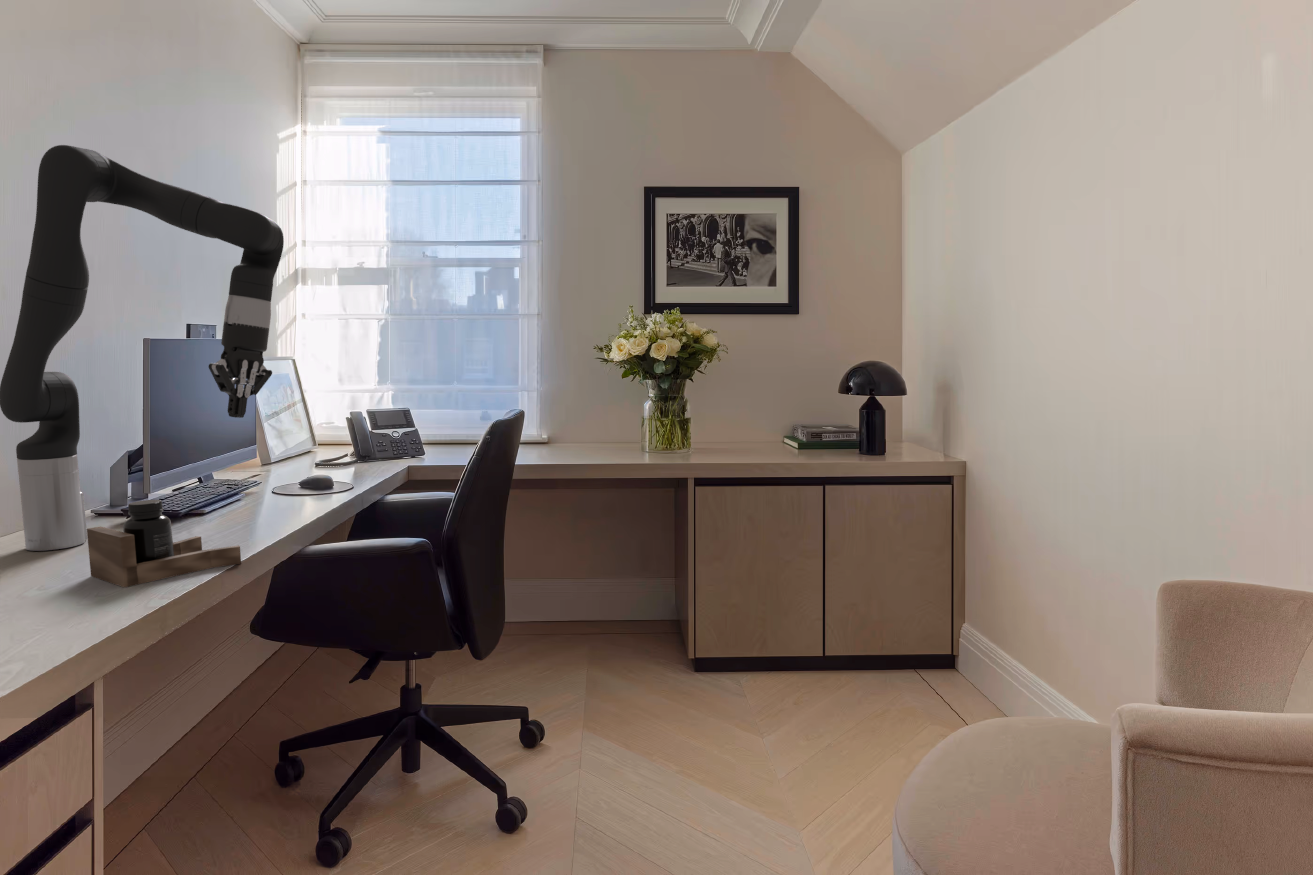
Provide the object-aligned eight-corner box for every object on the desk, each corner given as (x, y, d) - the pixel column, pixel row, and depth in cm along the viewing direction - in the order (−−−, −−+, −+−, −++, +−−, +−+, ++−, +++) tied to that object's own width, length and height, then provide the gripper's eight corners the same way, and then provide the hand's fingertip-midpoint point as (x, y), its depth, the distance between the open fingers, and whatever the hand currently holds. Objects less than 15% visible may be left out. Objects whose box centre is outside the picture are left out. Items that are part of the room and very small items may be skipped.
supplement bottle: (172, 564, 142) (167, 496, 141) (177, 573, 137) (172, 502, 135) (125, 571, 138) (119, 501, 137) (129, 580, 132) (122, 507, 131)
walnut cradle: (199, 551, 151) (196, 509, 150) (243, 562, 143) (240, 517, 142) (86, 574, 136) (82, 527, 135) (129, 588, 128) (124, 538, 127)
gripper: (259, 326, 158) (248, 415, 158) (201, 316, 145) (189, 413, 146) (290, 330, 155) (279, 421, 156) (233, 320, 143) (222, 418, 143)
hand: (235, 417), depth 151 cm, fingers closed
